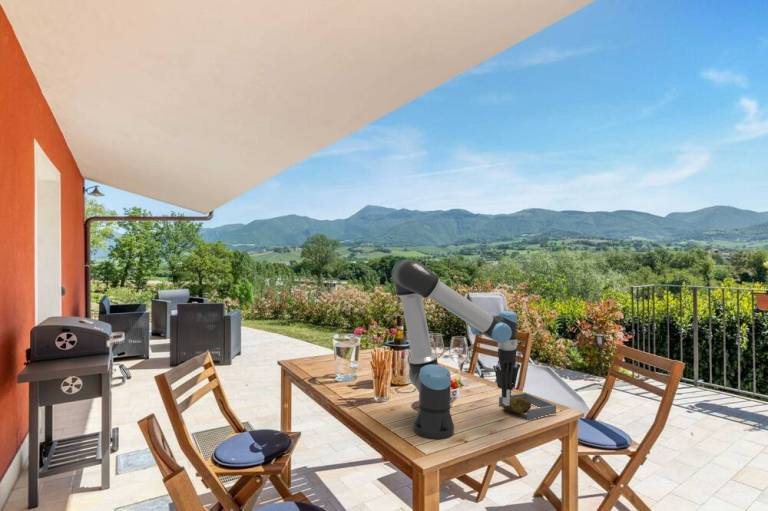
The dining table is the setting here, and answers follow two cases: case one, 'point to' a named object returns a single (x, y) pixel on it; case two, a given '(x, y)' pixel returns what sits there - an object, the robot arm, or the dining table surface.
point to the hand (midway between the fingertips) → (506, 404)
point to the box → (544, 406)
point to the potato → (518, 405)
